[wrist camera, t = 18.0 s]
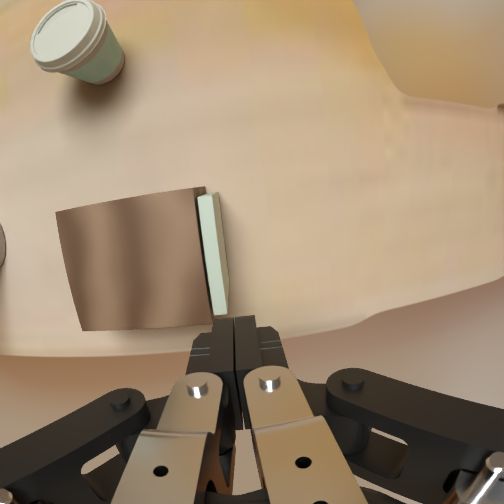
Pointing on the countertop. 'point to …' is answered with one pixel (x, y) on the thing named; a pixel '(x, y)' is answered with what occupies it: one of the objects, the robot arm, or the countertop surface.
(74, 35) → the coffee cup
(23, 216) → the countertop surface
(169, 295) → the small wooden cabinet
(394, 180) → the countertop surface
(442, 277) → the countertop surface
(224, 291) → the pullout shelf
